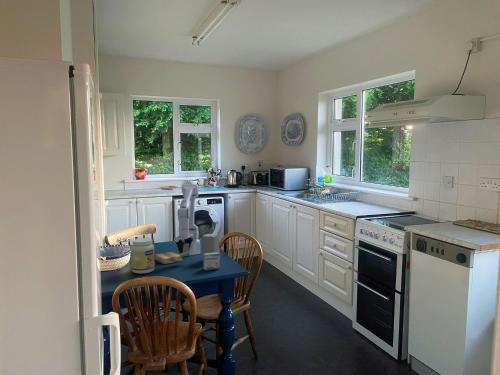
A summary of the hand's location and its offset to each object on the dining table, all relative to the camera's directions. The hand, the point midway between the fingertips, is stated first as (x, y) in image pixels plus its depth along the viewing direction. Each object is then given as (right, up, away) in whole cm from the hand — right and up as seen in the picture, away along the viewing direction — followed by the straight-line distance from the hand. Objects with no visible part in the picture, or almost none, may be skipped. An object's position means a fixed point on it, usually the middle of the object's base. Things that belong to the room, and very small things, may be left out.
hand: (184, 251), depth 218 cm
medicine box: (+17, -8, -9) cm, 21 cm away
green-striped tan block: (-11, -6, +7) cm, 14 cm away
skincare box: (+15, -7, +6) cm, 17 cm away
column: (0, -2, 0) cm, 2 cm away
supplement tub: (-20, -8, -13) cm, 25 cm away
